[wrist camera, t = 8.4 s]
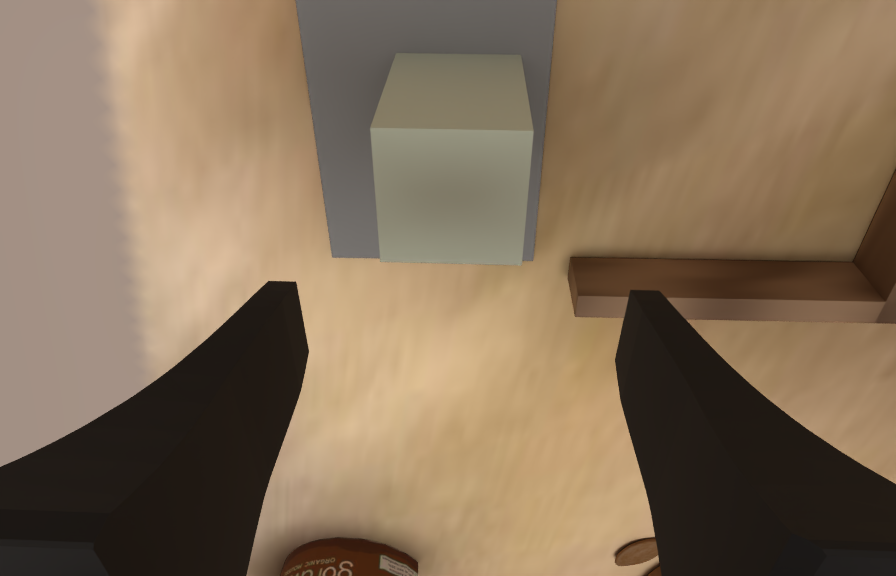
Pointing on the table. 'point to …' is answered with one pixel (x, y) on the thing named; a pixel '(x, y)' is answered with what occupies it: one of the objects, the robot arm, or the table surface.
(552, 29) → the mat
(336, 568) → the food container
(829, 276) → the open side box
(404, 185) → the sage block
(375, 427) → the table surface
